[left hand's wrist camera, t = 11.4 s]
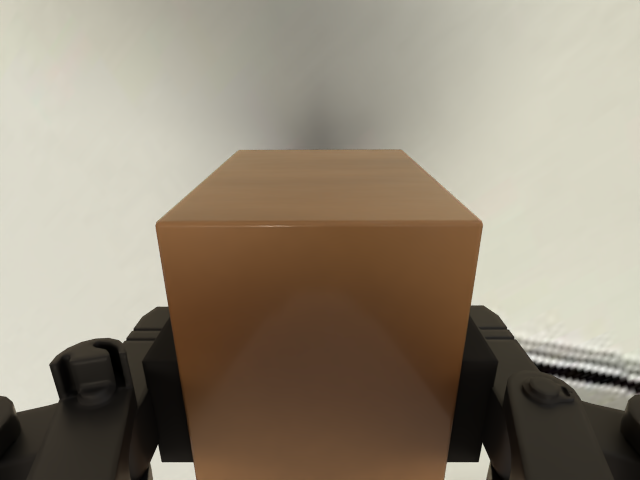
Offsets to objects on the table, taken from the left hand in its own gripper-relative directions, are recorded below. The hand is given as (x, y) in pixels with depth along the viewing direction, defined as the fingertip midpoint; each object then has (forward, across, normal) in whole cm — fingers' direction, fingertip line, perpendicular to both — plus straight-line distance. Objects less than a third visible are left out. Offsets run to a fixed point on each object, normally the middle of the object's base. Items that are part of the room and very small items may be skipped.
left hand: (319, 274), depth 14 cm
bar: (+1, 0, -25) cm, 25 cm away
